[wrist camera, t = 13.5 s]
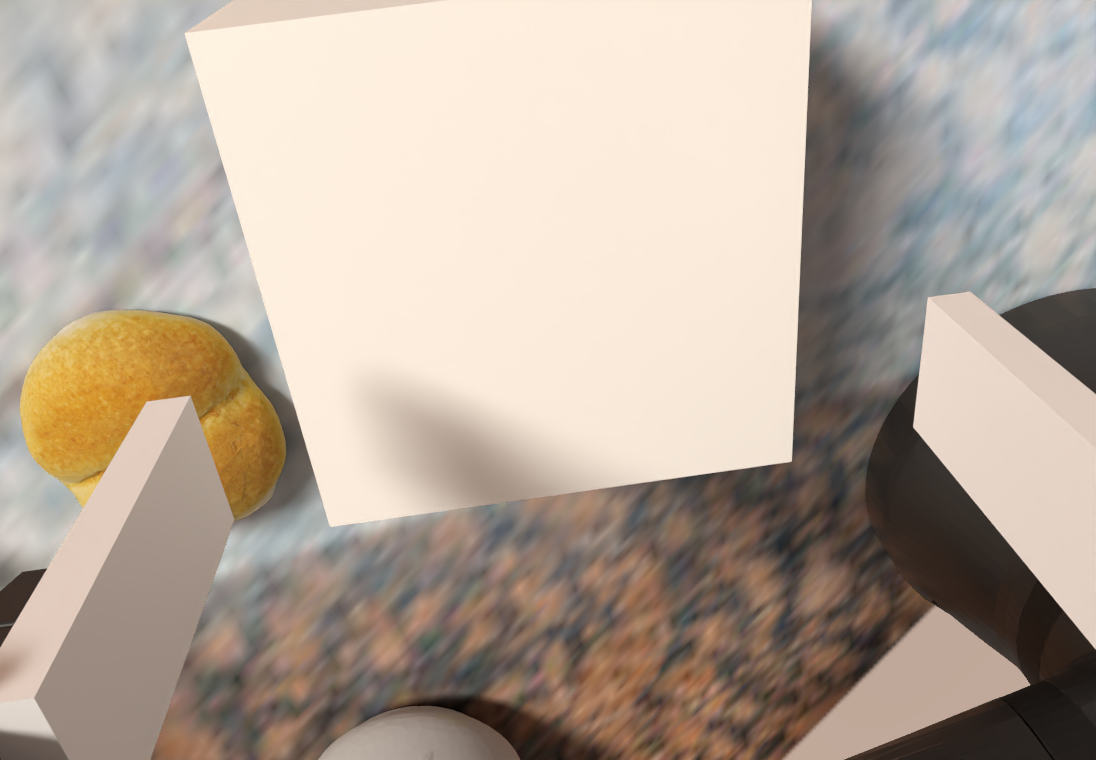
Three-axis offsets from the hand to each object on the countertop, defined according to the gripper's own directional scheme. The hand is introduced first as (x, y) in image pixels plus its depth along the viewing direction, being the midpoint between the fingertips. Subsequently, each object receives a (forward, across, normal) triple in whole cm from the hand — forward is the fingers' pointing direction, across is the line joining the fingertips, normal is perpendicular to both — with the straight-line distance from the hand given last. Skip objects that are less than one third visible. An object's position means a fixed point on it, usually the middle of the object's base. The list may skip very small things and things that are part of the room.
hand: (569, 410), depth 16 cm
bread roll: (+16, +14, +7) cm, 22 cm away
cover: (+15, 0, -1) cm, 15 cm away
